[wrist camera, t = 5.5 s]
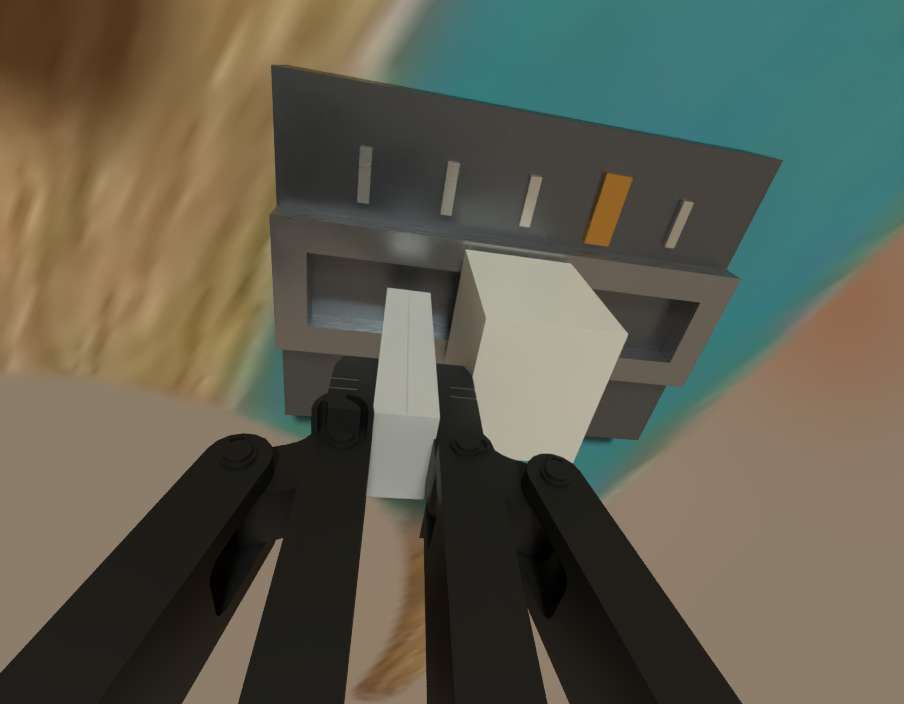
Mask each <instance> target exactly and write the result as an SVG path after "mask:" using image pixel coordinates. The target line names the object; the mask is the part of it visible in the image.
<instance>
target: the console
mask: <svg viewBox="0 0 904 704" xmlns="http://www.w3.org/2000/svg"><path fill="white" fill-rule="evenodd" d="M271 72H272V96H273V121H274V146H275V171H276V196H277V207H276V208H275V209H274V210H273V211H272V212H271V213H270V235H271V255H272V275H273V295H274V316H275V336H276V349H283V370H284V395H285V415H299V416H311V407H312V405H313V404H314V402H315V400H316V399H318V398H319V397H321V396H322V395H324V394H326V393H328V389H329V385H330V381H331V379H332V374H333V370H334V366H335V364H336V363H337V362H338V361H339V360H341V359H342V358H343V357H344V356H356V357H366V358H376V359H379V355H380V346H381V338H382V329H383V321H384V312H385V304H386V295H387V288H395V289H403V290H411V291H419V292H427V293H431V306H432V319H433V332H434V346H435V359H436V363H438V364H444V362H445V356H446V351H447V346H448V340H449V335H450V330H451V324H452V319H453V314H454V308H455V303H456V298H457V292H458V287H459V282H460V276H461V271H462V266H463V260H464V255H465V250H466V249H467V250H474V251H482V252H489V253H496V254H504V255H511V256H519V257H526V258H533V259H541V260H548V261H556V262H563V263H571V264H572V265H573V267H574V268H575V269H576V270H577V271H578V273H579V274H580V275H581V276H582V278H583V279H584V280H585V281H586V283H587V284H588V285H589V286H590V288H591V289H592V290H593V291H594V292H595V294H596V295H597V296H598V297H599V299H600V300H601V301H602V302H603V304H604V305H605V306H606V307H607V308H608V310H609V311H610V312H611V313H612V315H613V316H614V317H615V318H616V320H617V321H618V322H619V323H620V324H621V326H622V327H623V328H624V329H625V331H626V332H627V333H628V336H627V339H626V341H625V343H624V346H623V348H622V350H621V353H620V355H619V357H618V360H617V362H616V364H615V367H614V369H613V371H612V374H611V376H610V378H609V381H608V383H607V385H606V388H605V390H604V392H603V395H602V397H601V399H600V401H599V404H598V406H597V408H596V411H595V413H594V415H593V418H592V420H591V422H590V425H589V427H588V429H587V432H586V434H585V436H589V437H603V438H617V439H631V440H638V439H639V437H640V435H641V433H642V431H643V429H644V427H645V426H646V424H647V422H648V420H649V418H650V416H651V414H652V412H653V410H654V408H655V406H656V404H657V402H658V400H659V399H660V397H661V395H662V393H663V391H664V389H665V387H666V385H668V386H679V387H683V385H684V383H685V382H686V380H687V378H688V376H689V374H690V372H691V371H692V369H693V367H694V365H695V363H696V361H697V360H698V358H699V356H700V354H701V352H702V350H703V348H704V347H705V345H706V343H707V341H708V339H709V337H710V336H711V334H712V332H713V330H714V328H715V326H716V325H717V323H718V321H719V319H720V317H721V315H722V313H723V312H724V310H725V308H726V306H727V304H728V302H729V301H730V299H731V297H732V295H733V293H734V291H735V290H736V288H737V286H738V284H739V282H740V280H741V279H740V278H739V277H737V276H736V275H734V274H733V273H731V272H729V271H728V270H726V269H727V267H728V265H729V263H730V261H731V259H732V258H733V256H734V254H735V252H736V250H737V248H738V246H739V244H740V242H741V240H742V238H743V236H744V234H745V232H746V231H747V229H748V227H749V225H750V223H751V221H752V219H753V217H754V215H755V213H756V211H757V209H758V207H759V205H760V203H761V202H762V200H763V198H764V196H765V194H766V192H767V190H768V188H769V186H770V184H771V182H772V180H773V178H774V176H775V175H776V173H777V171H778V169H779V167H780V165H781V163H782V161H783V160H780V159H776V158H772V157H768V156H764V155H760V154H756V153H752V152H748V151H743V150H737V149H732V148H727V147H721V146H716V145H711V144H705V143H700V142H695V141H689V140H684V139H679V138H673V137H668V136H663V135H657V134H652V133H647V132H641V131H636V130H631V129H625V128H620V127H615V126H609V125H604V124H599V123H593V122H588V121H583V120H577V119H572V118H567V117H561V116H556V115H551V114H546V113H540V112H535V111H530V110H524V109H519V108H514V107H508V106H503V105H498V104H492V103H487V102H482V101H476V100H471V99H466V98H460V97H455V96H450V95H444V94H439V93H434V92H428V91H423V90H418V89H412V88H407V87H402V86H396V85H391V84H386V83H380V82H375V81H370V80H364V79H359V78H354V77H348V76H343V75H338V74H332V73H327V72H322V71H316V70H311V69H306V68H300V67H295V66H290V65H271Z"/></svg>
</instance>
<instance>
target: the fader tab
mask: <svg viewBox="0 0 904 704" xmlns="http://www.w3.org/2000/svg"><path fill="white" fill-rule="evenodd" d="M627 336H628V333H627V332H626V331H625V329H624V328H623V327H622V326H621V324H620V323H619V322H618V321H617V320H616V318H615V317H614V316H613V315H612V313H611V312H610V311H609V310H608V308H607V307H606V306H605V305H604V304H603V302H602V301H601V300H600V299H599V297H598V296H597V295H596V294H595V292H594V291H593V290H592V289H591V288H590V286H589V285H588V284H587V283H586V281H585V280H584V279H583V278H582V276H581V275H580V274H579V273H578V271H577V270H576V269H575V268H574V267H573V265H572V264H571V263H563V262H556V261H548V260H541V259H533V258H526V257H519V256H511V255H504V254H496V253H489V252H482V251H474V250H467V249H466V250H465V255H464V260H463V266H462V271H461V276H460V282H459V287H458V292H457V298H456V303H455V308H454V314H453V319H452V324H451V330H450V335H449V340H448V346H447V351H446V356H445V362H444V364H448V365H459V366H464V367H465V368H466V369H467V370H468V372H469V373H470V374H471V375H472V377H473V382H474V387H475V392H476V400H477V403H478V408H479V413H480V418H481V424H482V429H483V434H484V435H485V436H486V437H487V438H488V439H489V440H490V441H491V443H492V445H493V447H494V450H495V451H497V452H499V453H500V454H502V455H504V456H506V457H509V458H511V459H514V460H522V461H529V460H530V459H531V458H532V457H533V456H536V455H539V454H554V455H557V456H560V457H563V458H565V459H566V460H568V461H570V462H571V463H573V462H574V460H575V457H576V455H577V453H578V450H579V448H580V446H581V443H582V441H583V439H584V436H585V434H586V432H587V429H588V427H589V425H590V422H591V420H592V418H593V415H594V413H595V411H596V408H597V406H598V404H599V401H600V399H601V397H602V395H603V392H604V390H605V388H606V385H607V383H608V381H609V378H610V376H611V374H612V371H613V369H614V367H615V364H616V362H617V360H618V357H619V355H620V353H621V350H622V348H623V346H624V343H625V341H626V339H627Z"/></svg>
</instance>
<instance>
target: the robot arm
mask: <svg viewBox="0 0 904 704" xmlns="http://www.w3.org/2000/svg"><path fill="white" fill-rule="evenodd" d="M425 491H426V508H425V513H424V518H423V523H422V527H421V532H420V537H419V538H424V574H425V626H426V677H427V704H547V699H546V694H545V690H544V685H543V680H542V676H541V671H540V666H539V661H538V657H537V651H536V647H535V642H534V637H533V632H532V627H531V623H530V618H529V613H528V610H529V612H530V614H531V616H532V619H533V621H534V624H535V626H536V628H537V630H538V632H539V635H540V637H541V640H542V642H543V644H544V646H545V649H546V651H547V653H548V655H549V658H550V660H551V662H552V665H553V667H554V669H555V672H556V674H557V676H558V678H559V680H560V683H561V685H562V687H563V690H564V692H565V694H566V697H567V699H568V701H569V703H570V704H742V703H741V701H740V700H739V698H738V697H737V695H736V694H735V693H734V691H733V690H732V688H731V687H730V685H729V684H728V682H727V681H726V680H725V678H724V677H723V675H722V674H721V672H720V671H719V670H718V668H717V667H716V665H715V664H714V662H713V661H712V660H711V658H710V657H709V655H708V654H707V653H706V651H705V650H704V648H703V647H702V645H701V644H700V642H699V641H698V640H697V638H696V637H695V635H694V634H693V632H692V631H691V630H690V628H689V627H688V625H687V624H686V622H685V621H684V619H683V618H682V617H681V615H680V614H679V612H678V611H677V609H676V608H675V607H674V605H673V604H672V602H671V601H670V600H669V598H668V597H667V595H666V594H665V593H664V591H663V589H662V588H661V587H660V585H659V584H658V583H657V581H656V579H655V578H654V577H653V575H652V574H651V572H650V571H649V570H648V568H647V567H646V565H645V564H644V562H643V561H642V559H641V558H640V557H639V555H638V554H637V552H636V551H635V549H634V548H633V546H632V545H631V544H630V542H629V541H628V539H627V538H626V536H625V535H624V534H623V532H622V531H621V529H620V528H619V526H618V525H617V524H616V522H615V521H614V519H613V518H612V516H611V515H610V514H609V512H608V511H607V509H606V508H605V506H604V505H603V504H602V502H601V501H600V499H599V498H598V496H597V495H596V493H595V492H594V491H593V489H592V488H591V486H590V485H589V483H588V482H587V481H586V479H585V478H584V476H583V475H582V473H581V472H580V471H579V470H578V469H577V468H576V467H575V465H574V464H573V463H571V462H570V461H568V460H566V459H565V458H563V457H560V456H557V455H554V454H539V455H536V456H533V457H532V458H531V459H530V460H529V461H528V463H523V462H520V461H517V460H514V459H511V458H509V457H506V456H504V455H502V454H500V453H499V452H497V451H495V450H494V447H493V445H492V443H491V441H490V440H489V439H488V438H487V437H486V436H485V435H484V434H483V429H482V424H481V418H480V413H479V408H478V403H477V400H476V392H475V387H474V382H473V377H472V375H471V374H470V373H469V372H468V370H467V369H466V368H465V367H464V366H459V365H448V364H438V363H436V359H435V346H434V332H433V319H432V306H431V293H427V292H419V291H411V290H403V289H395V288H387V295H386V304H385V312H384V321H383V329H382V338H381V346H380V355H379V359H376V358H366V357H356V356H344V357H343V358H342V359H341V360H339V361H338V362H337V363H336V364H335V366H334V370H333V374H332V379H331V381H330V385H329V389H328V393H326V394H324V395H322V396H321V397H319V398H318V399H316V400H315V402H314V404H313V405H312V407H311V435H309V436H308V437H307V438H305V439H303V440H301V441H298V442H295V443H291V444H287V445H281V446H275V447H272V446H271V444H270V443H269V442H268V441H267V440H266V439H265V438H262V437H260V436H258V435H254V434H236V435H230V436H227V437H225V438H223V439H220V440H218V441H216V442H215V443H214V444H212V445H211V446H210V447H209V448H207V449H206V451H205V452H204V453H203V454H202V455H201V456H200V457H199V458H198V459H197V460H196V461H195V463H194V464H193V465H192V466H191V467H190V468H189V469H188V470H187V471H186V472H185V473H184V474H183V476H182V477H181V478H180V479H179V480H178V481H177V482H176V483H175V484H174V485H173V486H172V488H171V489H170V490H169V491H168V492H167V493H166V494H165V495H164V496H163V497H162V498H161V499H160V500H159V502H158V503H157V504H156V505H155V506H154V507H153V508H152V509H151V510H150V511H149V512H148V513H147V515H146V516H145V517H144V518H143V519H142V520H141V521H140V522H139V523H138V524H137V526H136V527H135V528H134V529H133V530H132V531H131V532H130V533H129V534H128V535H127V536H126V538H124V540H123V541H122V542H121V543H120V544H119V545H118V546H117V547H116V548H115V549H114V551H113V552H112V553H111V554H110V555H109V556H108V557H107V558H106V559H105V560H104V561H103V562H102V563H101V565H100V566H99V567H98V568H97V569H96V570H95V571H94V572H93V573H92V575H90V577H89V578H88V579H87V580H86V581H85V582H84V583H83V584H82V585H81V586H80V587H79V588H78V590H77V591H76V592H75V593H74V594H73V595H72V596H71V597H70V598H69V599H68V600H67V601H66V603H65V604H64V605H63V606H62V607H61V608H60V609H59V610H58V611H57V612H56V613H55V614H54V616H53V617H52V618H51V619H50V620H49V621H48V622H47V623H46V624H45V625H44V626H43V627H42V629H41V630H40V631H39V632H38V633H37V634H36V635H35V636H34V637H33V638H32V640H30V642H29V643H28V644H27V645H26V646H25V647H24V648H23V649H22V650H21V651H20V652H19V653H18V655H17V656H16V657H15V658H14V659H13V660H12V661H11V662H10V663H9V664H8V666H6V668H5V669H4V670H3V671H2V672H1V673H0V704H182V702H183V701H184V699H185V697H186V695H187V694H188V692H189V690H190V689H191V687H192V685H193V684H194V682H195V680H196V678H197V677H198V675H199V673H200V671H201V670H202V668H203V666H204V664H205V663H206V661H207V659H208V658H209V656H210V654H211V652H212V651H213V649H214V647H215V646H216V644H217V642H218V640H219V639H220V637H221V635H222V634H223V632H224V630H225V628H226V627H227V625H228V623H229V621H230V620H231V618H232V616H233V614H234V613H235V611H236V609H237V607H238V606H239V604H240V602H241V601H242V599H243V597H244V596H245V594H246V592H247V590H248V589H249V587H250V585H251V583H252V582H253V580H254V578H255V577H256V575H257V573H258V571H259V569H260V568H261V566H262V564H263V563H264V561H265V559H266V557H267V555H268V554H269V552H270V550H271V549H272V547H273V545H274V543H275V540H277V539H281V538H283V542H282V545H281V549H280V552H279V556H278V560H277V563H276V567H275V571H274V575H273V578H272V582H271V586H270V589H269V593H268V596H267V600H266V604H265V607H264V611H263V615H262V618H261V622H260V625H259V629H258V633H257V636H256V640H255V644H254V647H253V651H252V655H251V658H250V662H249V666H248V669H247V673H246V677H245V680H244V684H243V688H242V691H241V695H240V699H239V703H238V704H344V701H345V691H346V682H347V673H348V663H349V654H350V644H351V635H352V626H353V617H354V607H355V598H356V588H357V579H358V570H359V560H360V551H361V542H362V532H363V523H364V513H365V503H366V497H384V498H403V499H422V500H424V496H425Z"/></svg>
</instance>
